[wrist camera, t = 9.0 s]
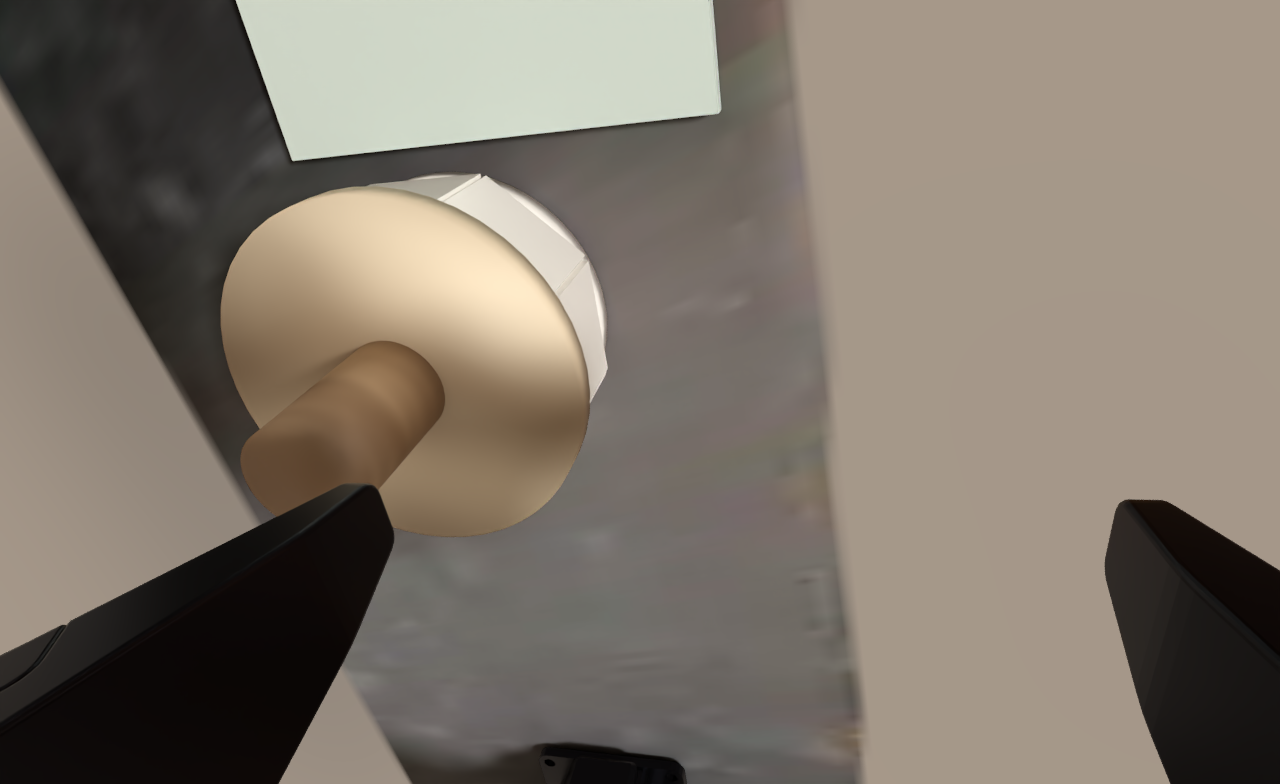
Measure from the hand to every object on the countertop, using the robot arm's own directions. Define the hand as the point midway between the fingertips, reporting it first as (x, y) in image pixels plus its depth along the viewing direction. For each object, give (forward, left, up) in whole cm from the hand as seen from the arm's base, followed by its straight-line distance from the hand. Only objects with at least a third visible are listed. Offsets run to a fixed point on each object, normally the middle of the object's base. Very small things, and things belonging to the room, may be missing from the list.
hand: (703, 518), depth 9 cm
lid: (-2, +9, -8) cm, 12 cm away
